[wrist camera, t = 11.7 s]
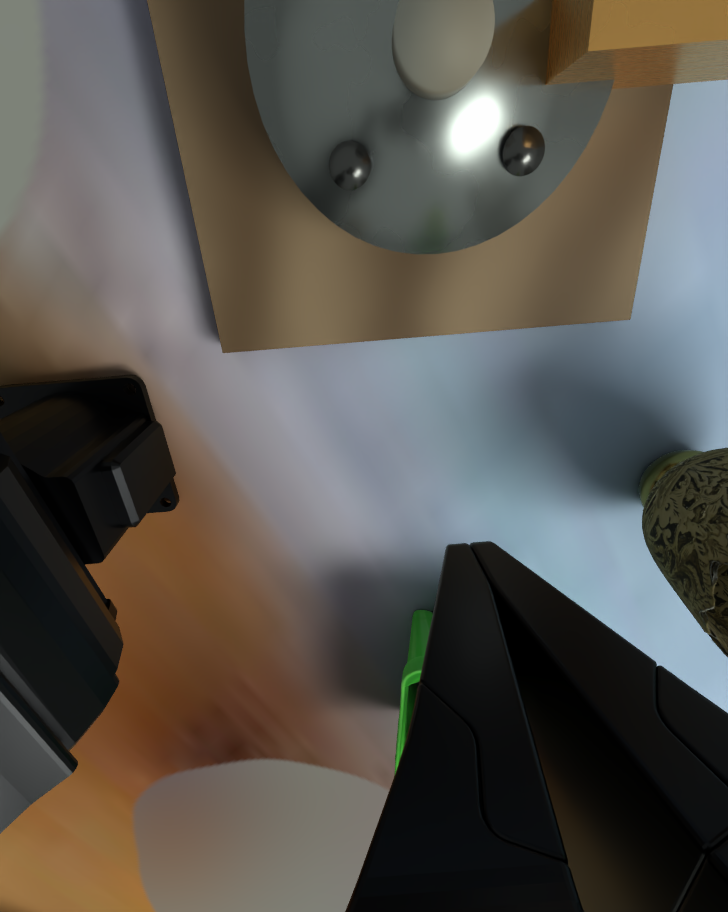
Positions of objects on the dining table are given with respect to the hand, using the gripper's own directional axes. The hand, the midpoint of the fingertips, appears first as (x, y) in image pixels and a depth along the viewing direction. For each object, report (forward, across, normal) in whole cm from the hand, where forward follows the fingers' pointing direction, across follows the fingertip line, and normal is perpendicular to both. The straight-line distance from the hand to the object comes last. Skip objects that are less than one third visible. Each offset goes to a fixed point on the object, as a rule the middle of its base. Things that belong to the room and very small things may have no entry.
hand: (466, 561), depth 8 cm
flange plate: (+10, -3, -10) cm, 14 cm away
